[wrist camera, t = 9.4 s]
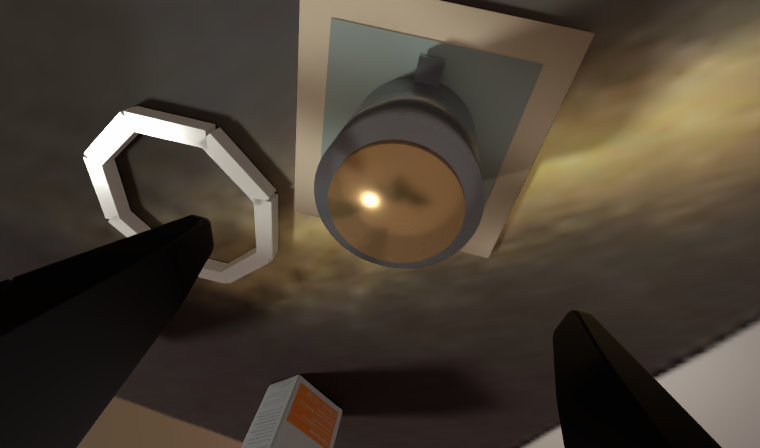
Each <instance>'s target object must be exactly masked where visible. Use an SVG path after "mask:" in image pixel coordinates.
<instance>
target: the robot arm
mask: <svg viewBox="0 0 760 448" xmlns="http://www.w3.org/2000/svg"><path fill="white" fill-rule="evenodd" d="M213 247H214V241H213V234H212V228H211V222H210V220H209V219H207V218H205V217H201V216H197V215H189V216H186V217H184V218H181V219H178V220H175V221H172V222H169V223H166V224H164V225H161V226H158V227H155V228H152V229H149V230H147V231H144V232H141V233H138V234H135V235H132V236H130V237H127V238H124V239H121V240H118V241H115V242H113V243H110V244H107V245H104V246H101V247H98V248H96V249H93V250H90V251H87V252H84V253H81V254H79V255H76V256H73V257H70V258H67V259H64V260H61V261H59V262H56V263H53V264H50V265H47V266H44V267H42V268H39V269H36V270H33V271H30V272H27V273H25V274H22V275H19V276H16V277H14V278H13V279H12V280H10V279H7V280H4V281H2V282H0V448H77V446H78V445H79V444H80V442H81V441H82V439H83V438H84V436H85V435H86V434H87V432H88V431H89V430H90V429H91V427H92V426H93V424H94V423H95V421H96V420H97V419H98V418H99V416H100V415H101V413H102V412H103V411H104V409H105V408H106V407H107V405H108V404H109V403H110V401H111V400H112V399H113V397H114V396H115V394H116V393H117V392H118V390H119V389H120V388H121V386H122V385H123V384H124V382H125V381H126V379H127V378H128V377H129V375H130V374H131V373H132V371H133V370H134V369H135V367H136V366H137V365H138V363H139V362H140V360H141V359H142V358H143V356H144V355H145V354H146V352H147V351H148V350H149V348H150V347H151V345H152V344H153V343H154V341H155V340H156V339H157V337H158V336H159V335H160V333H161V332H162V330H163V329H164V328H165V326H166V325H167V324H168V322H169V321H170V320H171V318H172V317H173V315H174V314H175V313H176V311H177V310H178V308H179V307H180V306H181V304H182V303H183V301H184V300H185V298H186V296H187V295H188V293H189V291H190V289H191V288H192V286H193V284H194V283H195V281H196V279H197V277H198V276H199V274H200V272H201V270H202V269H203V267H204V265H205V264H206V262H207V260H208V258H209V257H210V255H211V253H212V251H213ZM553 351H554V368H555V385H556V397H557V405H558V412H559V418H560V424H561V429H562V435H563V441H564V446H565V448H722V447H721V446H720V445H719V444H718V443H717V442H716V441H715V440H714V439H713V438H712V437H711V436H710V435H709V434H708V433H707V432H706V431H705V430H704V429H703V428H702V427H701V426H700V425H699V424H698V423H697V422H696V421H695V420H694V419H693V418H692V417H691V416H690V415H689V414H688V412H687V411H686V410H685V409H684V408H682V406H681V405H680V404H679V403H678V402H677V401H676V400H675V399H674V398H673V397H672V396H671V395H670V394H669V393H668V392H667V391H666V390H665V389H664V388H663V387H662V386H661V385H660V384H659V383H658V382H657V381H656V380H655V379H654V378H653V377H652V376H651V375H650V374H649V373H648V371H647V370H646V369H645V368H644V367H643V366H642V365H641V364H640V363H639V362H638V361H637V360H636V359H635V358H634V357H633V356H632V355H631V354H630V353H629V352H628V351H627V350H626V349H625V348H624V347H623V346H622V345H621V344H620V343H619V342H618V341H617V340H616V339H615V338H614V337H613V336H612V335H611V334H610V333H609V332H608V330H607V329H606V328H605V327H604V326H603V325H602V324H601V323H600V322H599V321H598V320H597V319H596V318H595V317H594V316H593V315H592V314H590V313H588V312H584V311H580V310H575V309H573V310H570V311H569V312H568V313H567V314H566V316H565V317H564V318H563V320H562V321H561V322H560V324H559V325H558V326H557V328H556V329H555V331H554V334H553Z"/></svg>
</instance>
